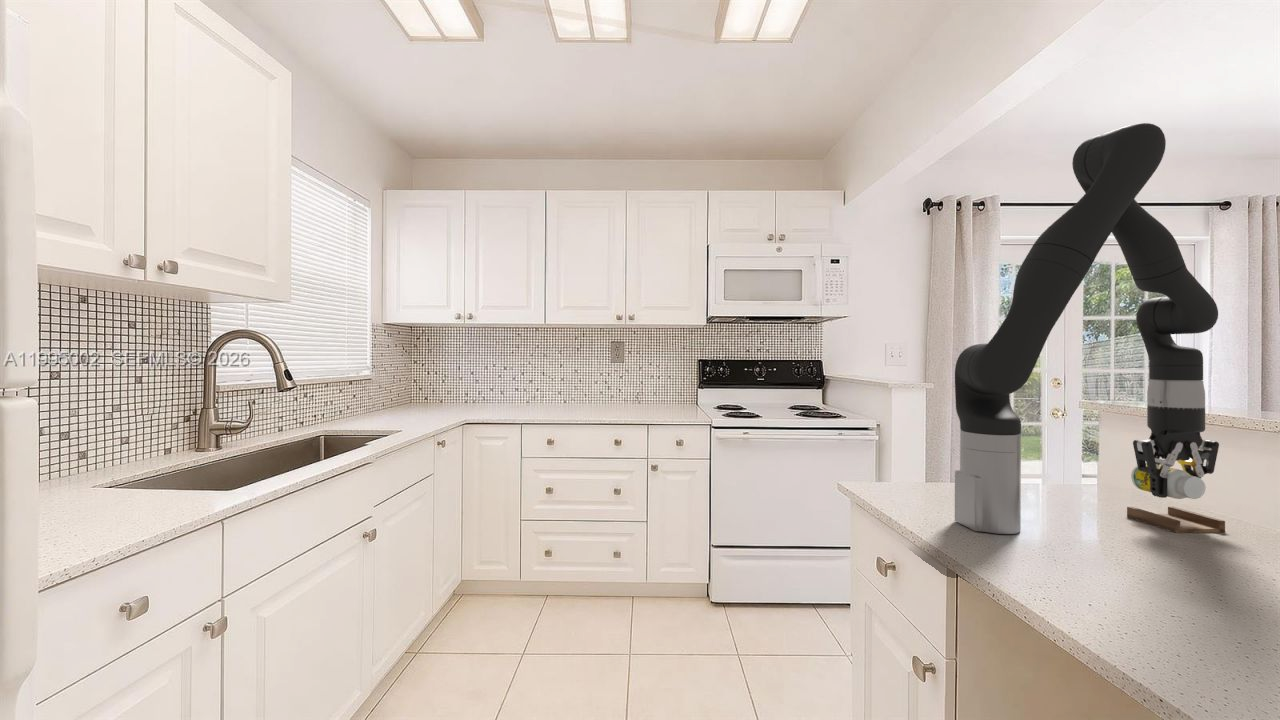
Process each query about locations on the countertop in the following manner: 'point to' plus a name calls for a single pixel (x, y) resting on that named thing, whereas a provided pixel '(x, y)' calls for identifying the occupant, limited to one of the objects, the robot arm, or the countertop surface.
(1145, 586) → the countertop surface
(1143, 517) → the cradle
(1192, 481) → the supplement bottle
